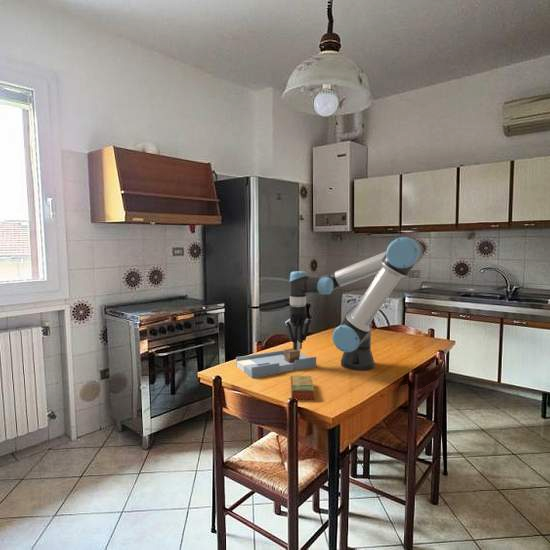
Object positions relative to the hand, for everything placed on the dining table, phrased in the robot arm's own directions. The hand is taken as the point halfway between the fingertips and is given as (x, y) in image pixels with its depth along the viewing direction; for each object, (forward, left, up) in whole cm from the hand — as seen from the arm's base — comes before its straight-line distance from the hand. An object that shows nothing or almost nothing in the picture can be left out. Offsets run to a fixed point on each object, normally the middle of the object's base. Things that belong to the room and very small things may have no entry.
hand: (297, 356), depth 184 cm
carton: (-29, +15, -5) cm, 33 cm away
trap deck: (+4, +9, -5) cm, 11 cm away
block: (0, +3, -2) cm, 4 cm away
